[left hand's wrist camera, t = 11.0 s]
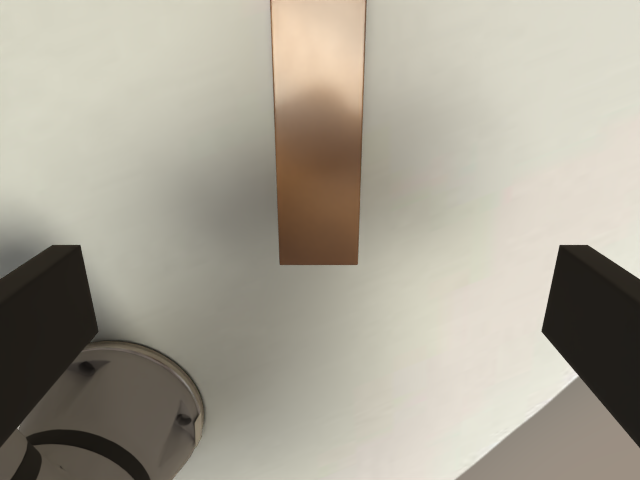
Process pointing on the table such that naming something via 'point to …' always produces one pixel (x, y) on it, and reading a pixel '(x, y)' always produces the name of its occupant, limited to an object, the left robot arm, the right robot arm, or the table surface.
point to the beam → (318, 127)
